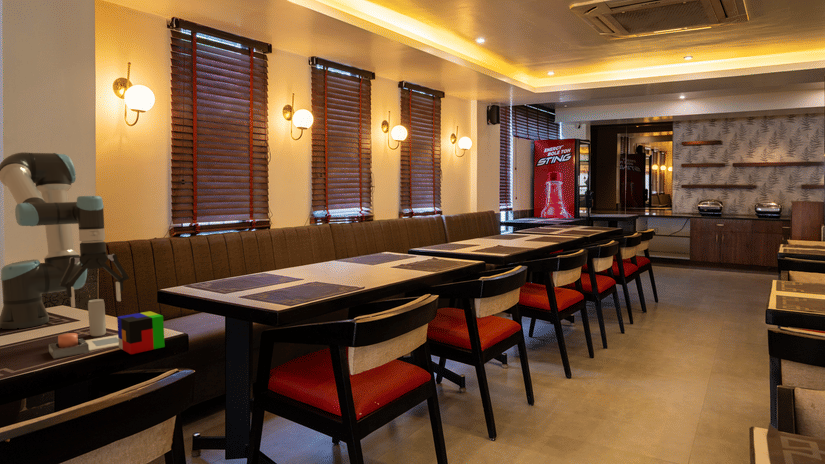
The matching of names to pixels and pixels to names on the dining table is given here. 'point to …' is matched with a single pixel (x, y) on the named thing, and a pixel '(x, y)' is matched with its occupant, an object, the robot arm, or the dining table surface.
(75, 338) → the button
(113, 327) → the dining table surface
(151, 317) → the puzzle toy
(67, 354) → the button collar
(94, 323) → the beverage can
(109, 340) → the white flat block
